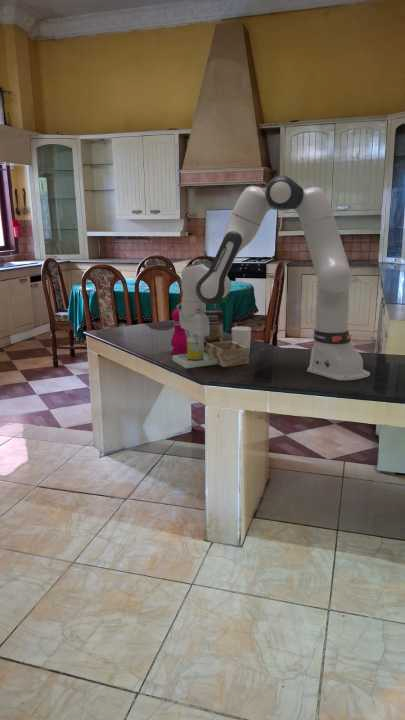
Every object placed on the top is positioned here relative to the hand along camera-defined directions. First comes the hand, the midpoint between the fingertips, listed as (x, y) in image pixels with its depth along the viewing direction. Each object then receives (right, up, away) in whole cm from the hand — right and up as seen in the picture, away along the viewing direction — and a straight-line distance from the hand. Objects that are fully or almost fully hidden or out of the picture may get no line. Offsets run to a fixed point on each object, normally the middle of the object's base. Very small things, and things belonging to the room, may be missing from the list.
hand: (194, 343), depth 203 cm
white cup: (+19, -3, +17) cm, 25 cm away
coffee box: (+7, -2, +23) cm, 24 cm away
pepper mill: (-6, -4, +16) cm, 18 cm away
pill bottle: (0, -7, +1) cm, 7 cm away
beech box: (+12, -7, +3) cm, 14 cm away
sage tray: (0, -7, +2) cm, 7 cm away
